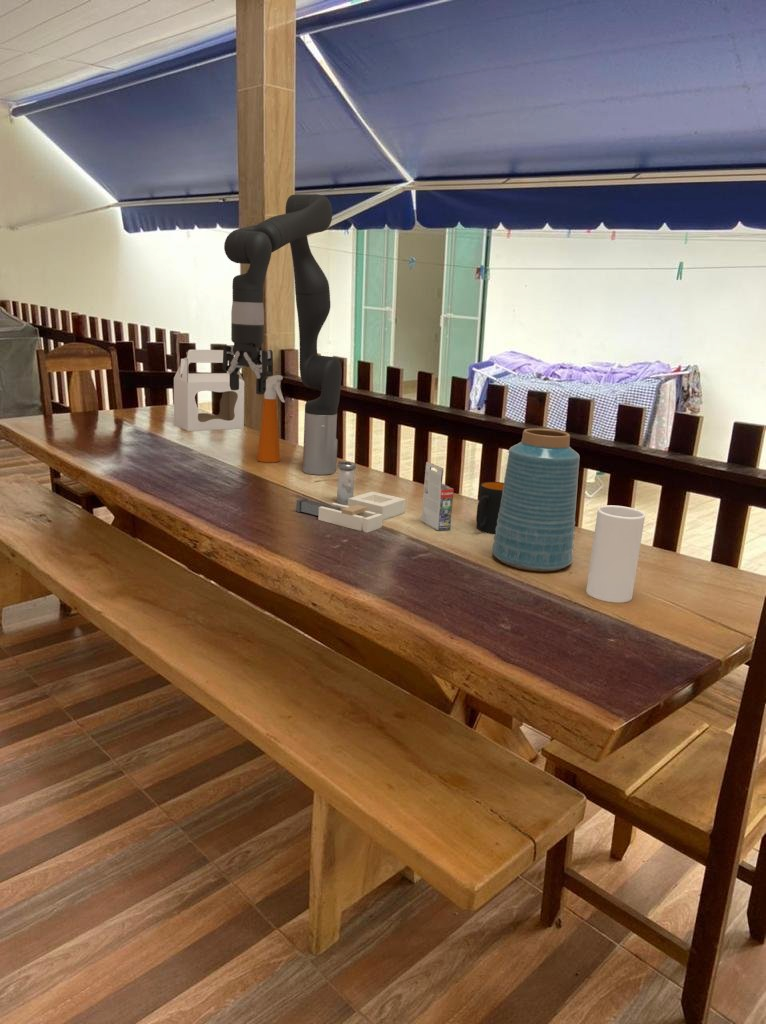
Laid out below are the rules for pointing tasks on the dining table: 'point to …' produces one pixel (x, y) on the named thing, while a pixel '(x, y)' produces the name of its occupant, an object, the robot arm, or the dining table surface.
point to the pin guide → (351, 517)
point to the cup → (615, 553)
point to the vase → (538, 503)
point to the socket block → (380, 504)
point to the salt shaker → (345, 481)
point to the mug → (489, 506)
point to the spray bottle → (270, 422)
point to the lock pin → (311, 506)
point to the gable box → (217, 382)
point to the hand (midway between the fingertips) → (247, 392)
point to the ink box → (436, 499)
